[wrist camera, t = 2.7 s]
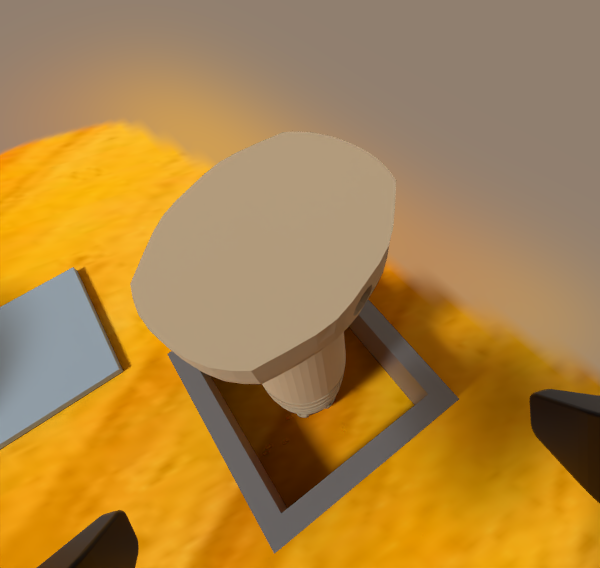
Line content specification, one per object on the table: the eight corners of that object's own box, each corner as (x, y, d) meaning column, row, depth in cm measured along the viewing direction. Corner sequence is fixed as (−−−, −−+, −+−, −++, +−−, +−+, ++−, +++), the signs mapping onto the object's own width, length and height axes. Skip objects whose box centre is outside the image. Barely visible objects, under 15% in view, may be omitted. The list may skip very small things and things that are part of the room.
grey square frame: (442, 410, 20) (459, 399, 17) (282, 543, 18) (274, 553, 15) (326, 277, 25) (325, 252, 22) (186, 369, 22) (167, 354, 20)
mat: (123, 371, 23) (119, 369, 22) (-27, 466, 20) (-35, 465, 20) (77, 271, 26) (73, 267, 26) (-53, 342, 24) (-60, 339, 24)
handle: (373, 366, 22) (438, 178, 8) (310, 467, 19) (266, 423, 6) (305, 324, 23) (271, 110, 10) (240, 412, 21) (87, 284, 8)
